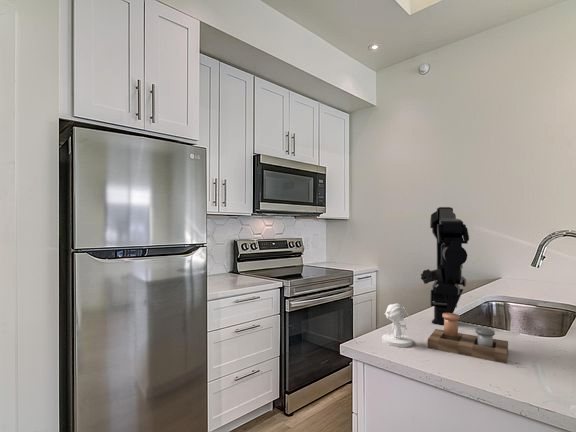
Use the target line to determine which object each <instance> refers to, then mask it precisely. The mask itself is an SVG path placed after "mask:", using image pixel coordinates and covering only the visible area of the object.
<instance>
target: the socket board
mask: <svg viewBox="0 0 576 432" xmlns="http://www.w3.org/2000/svg"><path fill="white" fill-rule="evenodd" d="M427 349H431V350H437V351H440V352H441V351H442V352H445V353H446V352H447V353H452V354H456V355H461V356H466V357H471V358H474V359H475V358H476V359H479V360H480V359H482V360H487V361H491V362H495V363H501V364H505V365H507V364H508V357H509V356H508V355H509V340H504V339H497V338H493V348H491V347H485V346H480V345H478V335H473V334H468V333H462V332H458V336H448V335H446V334H444V329H439V328H435V329H434V330H433V332H432V333H431V334H430V335H429V337H428V338H427Z"/></svg>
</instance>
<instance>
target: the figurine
mask: <svg viewBox="0 0 576 432" xmlns="http://www.w3.org/2000/svg"><path fill="white" fill-rule="evenodd" d="M405 314H406V316H408V317H410V315H409V314H408V312H407V310H406V308H405V307H404V306H403V307H402V305H401V304H400V303H394V304H393V303H391V304H388V306H387V307H386V310H385V313H384V315H385V316H386V319H388V320H390V321H391V322H392V323H391V330H390V331H389V332H388V333H385V334H383V335H382V336H381V341H382V343H383V344H384V345H388V346H390V347H395V348H396V347H397V348H407V347H409V348H410V347H411V346H413V344H414V343H413V338H412V337H410V336H408V335H405V331H406V330H408V328H407V323H406V322H405V324H401V323H400V322H404V320H405V318H404V317H405ZM402 329H404V330H403V332H402ZM392 332H393V333H392Z"/></svg>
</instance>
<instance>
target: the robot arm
mask: <svg viewBox="0 0 576 432" xmlns="http://www.w3.org/2000/svg"><path fill="white" fill-rule="evenodd" d="M429 221H430V222H429V224H430V225H429V226H430V227H429V228H430V229H431V230H432V231H431V233H432V234H433V236H434V238H435V240H436V269H433V270H430V269H428V268H427V269H426V270H425V269H424V270H423V271H422V272H421V273H420V276H421V277H420V279H421V280H422V282H423V284H424V285H426V284H429V283H432V282H433V284H432V289H430V295H429V305H430V307H433V314H434V315H433V319H432V320H431V324H439V325H443V326H444V318H443V317H442V314H443V313H454V312H455V310H456V308H457V307H458V303H459V300H460V299H461V296H462V294H463V291H464V289H463V288H460V286H462V287H464V288H465V287H466V286H467V279H466V278H465V277H464V276H462V273H463V271H462V270H463V268H464V267H463V265H464V264H465V263H466V261H467V259H468V252H467V250H466V249H465V248H464V247H463V245H465V244H468V242H469V240H470V235H469V229H468V227H467V226H466V225H467V224H464V221H463V220H462V219H459V218H457V216H456V213H455V212H454V209H453V207H450V206H440V207H437V208H436V211H434V212H433V213H431V215H430V220H429Z"/></svg>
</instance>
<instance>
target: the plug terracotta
mask: <svg viewBox="0 0 576 432" xmlns="http://www.w3.org/2000/svg"><path fill="white" fill-rule="evenodd" d="M442 317H443V318H444V325H443V330H444V334H446V335H448V336H458V333H459V320H460V319H461V316H460V314H458V313H454V312H453V313H443V314H442Z"/></svg>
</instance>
